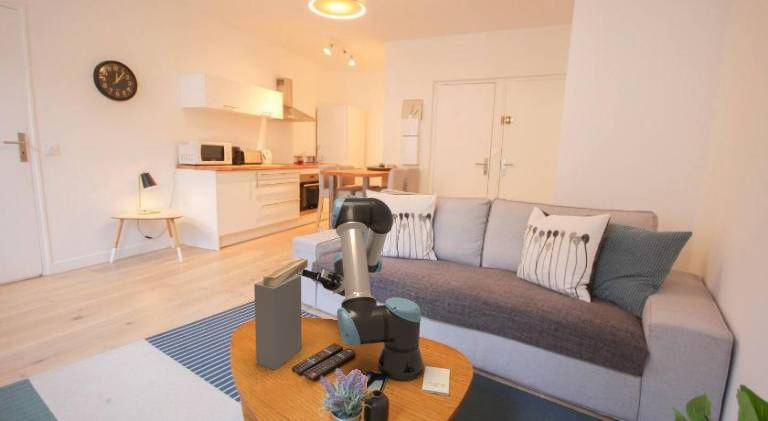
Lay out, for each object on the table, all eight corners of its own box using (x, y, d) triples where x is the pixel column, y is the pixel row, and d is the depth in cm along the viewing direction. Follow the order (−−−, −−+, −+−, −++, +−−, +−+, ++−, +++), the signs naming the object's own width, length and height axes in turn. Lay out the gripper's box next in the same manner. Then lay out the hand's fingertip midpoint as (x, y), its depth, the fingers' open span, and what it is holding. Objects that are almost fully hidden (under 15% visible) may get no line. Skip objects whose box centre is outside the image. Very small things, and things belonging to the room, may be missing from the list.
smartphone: (351, 400, 108) (367, 370, 122) (351, 403, 108) (367, 372, 122) (376, 405, 106) (388, 374, 120) (376, 408, 106) (388, 376, 121)
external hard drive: (449, 373, 124) (448, 397, 112) (424, 370, 125) (421, 393, 113) (450, 369, 123) (449, 392, 111) (425, 365, 125) (421, 388, 113)
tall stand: (301, 349, 134) (301, 275, 130) (275, 370, 122) (273, 288, 117) (283, 344, 138) (282, 271, 133) (256, 363, 125) (254, 284, 120)
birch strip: (307, 266, 139) (307, 259, 139) (274, 286, 119) (274, 277, 118) (298, 265, 141) (297, 257, 140) (263, 285, 120) (263, 276, 119)
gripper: (356, 296, 153) (332, 285, 134) (306, 285, 163) (278, 274, 145) (361, 278, 155) (338, 265, 137) (311, 269, 165) (284, 256, 147)
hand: (307, 270), depth 141 cm, fingers open, 13 cm apart
